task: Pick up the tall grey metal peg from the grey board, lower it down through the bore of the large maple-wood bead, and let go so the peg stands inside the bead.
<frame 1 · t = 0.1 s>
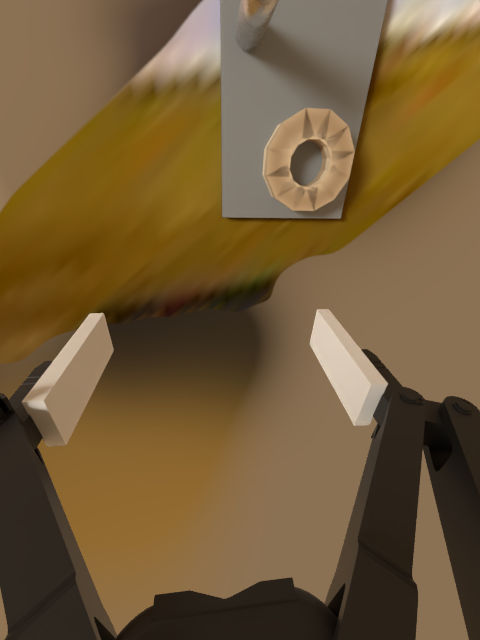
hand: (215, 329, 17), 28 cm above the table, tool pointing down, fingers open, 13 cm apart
bead: (303, 163, 36), point 1 cm above the table, touching board
peg: (248, 33, 28), point 1 cm above the table, touching board
board: (290, 118, 34), on the table
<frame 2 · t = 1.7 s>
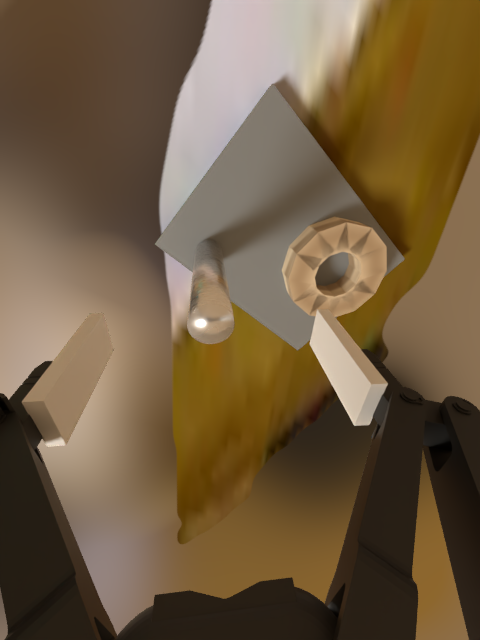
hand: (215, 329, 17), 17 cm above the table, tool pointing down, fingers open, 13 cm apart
bead: (327, 265, 32), point 1 cm above the table, touching board
peg: (208, 252, 29), point 1 cm above the table, touching board
board: (285, 248, 32), on the table
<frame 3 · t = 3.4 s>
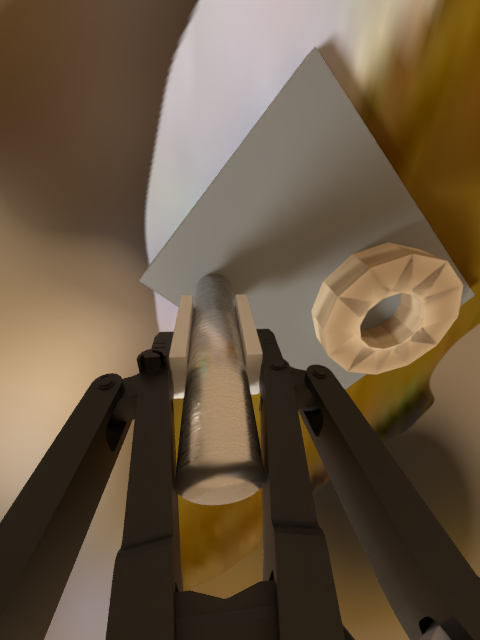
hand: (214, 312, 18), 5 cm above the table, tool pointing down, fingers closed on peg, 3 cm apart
bead: (372, 305, 24), point 1 cm above the table, touching board
peg: (213, 290, 21), point 1 cm above the table, touching board, gripper
board: (315, 281, 24), on the table
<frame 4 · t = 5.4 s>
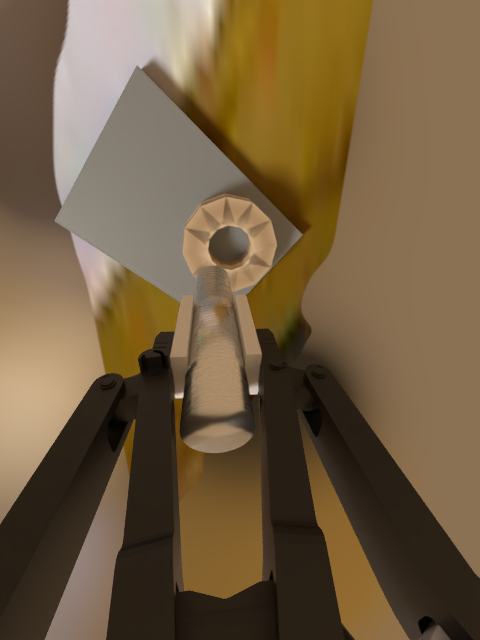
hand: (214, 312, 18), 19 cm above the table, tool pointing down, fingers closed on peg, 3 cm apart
bead: (228, 241, 34), point 1 cm above the table, touching board
peg: (213, 281, 23), point 14 cm above the table, touching gripper
board: (187, 225, 34), on the table
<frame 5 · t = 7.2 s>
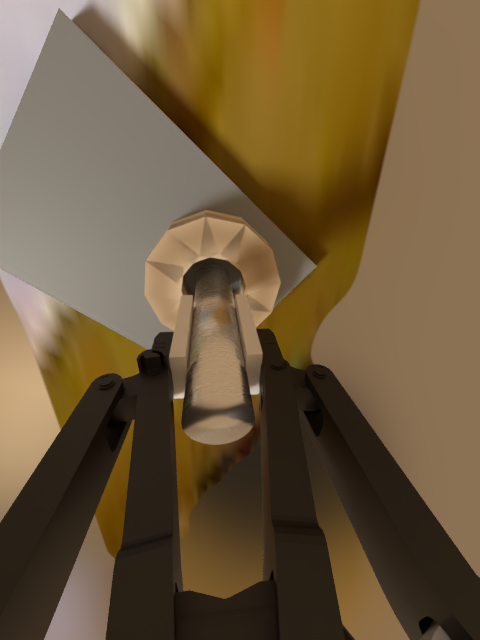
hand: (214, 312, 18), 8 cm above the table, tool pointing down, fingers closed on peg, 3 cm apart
bead: (213, 275, 24), point 1 cm above the table, touching board
peg: (213, 279, 23), point 3 cm above the table, touching gripper
board: (157, 252, 24), on the table
when the fingers open (7 cm above the table, at t = 7.8 s): peg stays where it is, resting on board.
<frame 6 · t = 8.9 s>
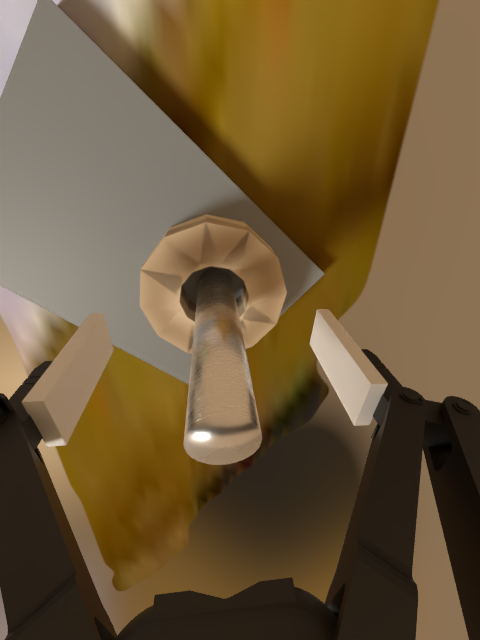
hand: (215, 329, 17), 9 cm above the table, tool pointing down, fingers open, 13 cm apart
bead: (213, 283, 23), point 1 cm above the table, touching board
peg: (215, 284, 23), point 2 cm above the table, touching board
board: (153, 259, 23), on the table
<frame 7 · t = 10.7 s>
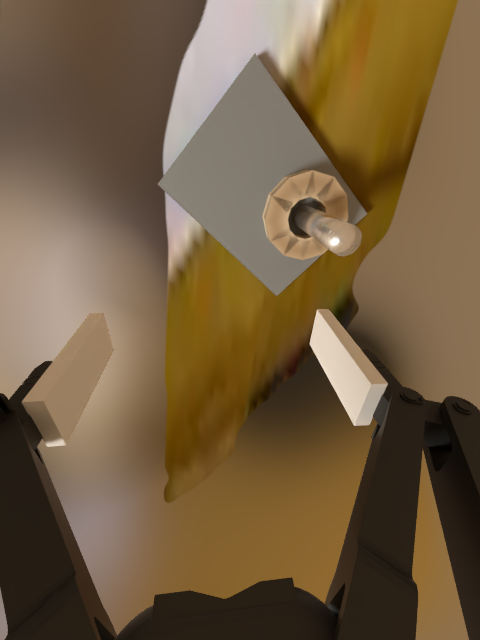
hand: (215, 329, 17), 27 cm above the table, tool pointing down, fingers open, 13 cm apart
bead: (301, 215, 38), point 1 cm above the table, touching board
peg: (302, 216, 38), point 2 cm above the table, touching board
board: (266, 198, 38), on the table
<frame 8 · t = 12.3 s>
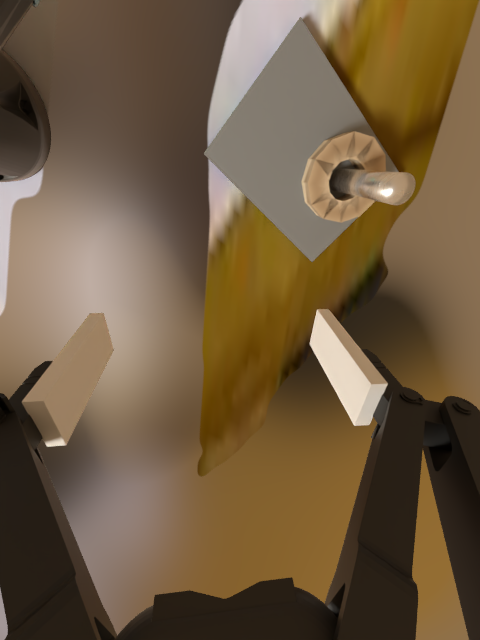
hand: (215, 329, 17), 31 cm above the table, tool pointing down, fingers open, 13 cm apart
bead: (338, 179, 40), point 1 cm above the table, touching board
peg: (339, 180, 40), point 2 cm above the table, touching board
board: (304, 164, 39), on the table
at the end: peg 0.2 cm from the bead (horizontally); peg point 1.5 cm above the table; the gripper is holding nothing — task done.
